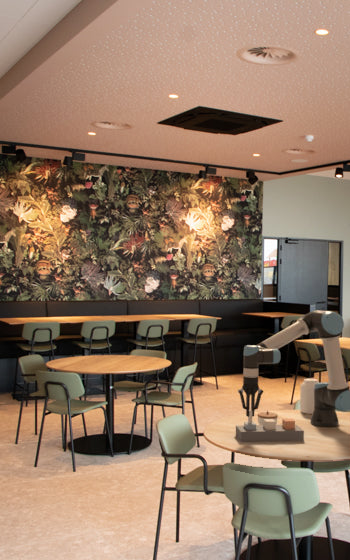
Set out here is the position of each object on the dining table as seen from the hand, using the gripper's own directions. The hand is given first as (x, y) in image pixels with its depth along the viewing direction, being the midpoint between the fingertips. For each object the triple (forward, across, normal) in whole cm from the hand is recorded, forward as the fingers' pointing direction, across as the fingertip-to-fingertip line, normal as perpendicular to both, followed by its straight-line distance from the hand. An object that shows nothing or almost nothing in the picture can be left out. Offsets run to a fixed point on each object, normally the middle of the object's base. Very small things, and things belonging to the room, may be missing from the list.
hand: (250, 422), depth 295 cm
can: (+8, -51, -54) cm, 75 cm away
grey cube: (+5, 0, 0) cm, 5 cm away
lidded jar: (+8, -14, -18) cm, 24 cm away
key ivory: (+4, -10, 0) cm, 11 cm away
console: (+8, -10, 0) cm, 13 cm away
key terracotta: (+4, -20, 0) cm, 20 cm away
